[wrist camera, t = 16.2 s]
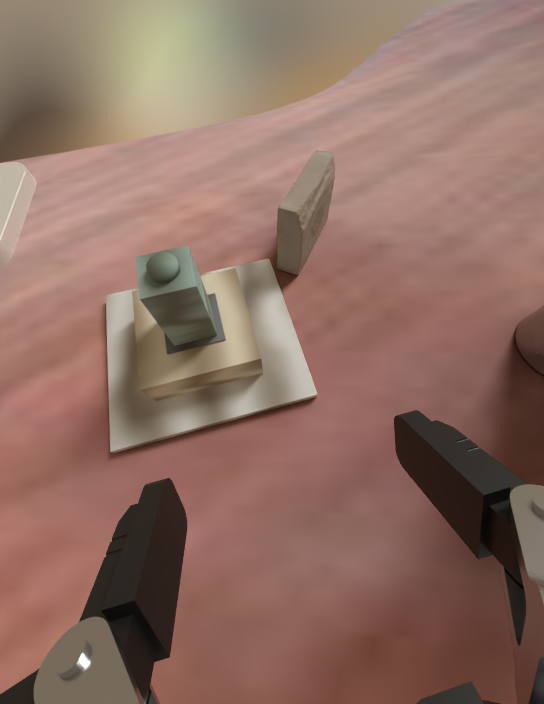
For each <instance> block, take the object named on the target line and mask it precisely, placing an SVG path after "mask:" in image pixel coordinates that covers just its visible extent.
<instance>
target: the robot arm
mask: <svg viewBox="0 0 544 704" xmlns="http://www.w3.org/2000/svg"><path fill="white" fill-rule="evenodd" d="M515 336H516V343H517V346H518V349H519V351H520V352H521V354H522V356H523V357H524V359H525V360H526V361H527V362H528V363H529V364H530V365H531V366H532V367H533V368H534V369H535V370H537V371H538V372H540V373H541V374H543V375H544V306H542V307H541V308H539V309H538V310H536V311H535V312H533V313H532V314H530V315H529V316H528V317H526V318H525V319H523V320H522V321H521V322H520V323H519V325H518V327H517V329H516V335H515ZM394 430H395V446H396V454H397V457H398V459H399V462H400V464H401V465H402V467H403V468H404V470H405V471H406V472H407V473H408V474H409V476H410V477H411V478H412V479H413V480H414V482H415V483H416V484H417V485H418V487H419V488H420V489H421V490H422V491H423V493H424V494H425V495H426V496H427V497H428V499H429V500H430V501H431V502H432V504H433V505H434V506H435V507H436V508H437V510H438V511H439V512H440V513H441V514H442V516H443V517H444V518H445V519H446V521H447V522H448V523H449V524H450V525H451V527H452V528H453V529H454V530H455V531H456V533H457V534H458V535H459V536H460V538H461V539H462V540H463V541H464V542H465V544H466V545H467V546H468V547H469V549H470V550H471V551H472V552H473V553H474V555H475V556H476V557H477V558H478V559H480V558H483V557H486V556H490V555H494V556H495V557H496V559H497V560H498V561H499V562H500V563H501V576H502V582H503V588H504V595H505V601H506V607H507V613H508V619H509V625H510V631H511V637H512V643H513V649H514V658H515V683H516V695H517V703H518V704H544V486H541V485H534V484H527V483H525V482H524V481H523V480H521V479H520V478H519V477H517V476H516V475H515V474H513V473H512V472H511V471H510V470H508V469H507V468H506V467H504V466H503V465H502V464H500V463H499V462H498V461H497V460H495V459H494V458H493V457H491V456H490V455H489V454H487V453H486V452H485V451H484V450H482V449H481V448H480V449H479V448H478V446H477V445H476V444H474V443H473V442H472V441H471V440H468V439H467V437H465V436H464V435H463V434H462V433H460V432H459V431H458V430H456V429H455V428H454V427H452V426H449V425H447V424H444V423H442V422H440V421H437V420H436V421H430V420H429V419H428V418H427V417H426V416H424V415H423V414H422V413H421V412H419V411H417V410H415V411H411V412H408V413H404V414H400V415H397V416H395V418H394ZM186 534H187V518H186V513H185V510H184V507H183V505H182V503H181V500H180V498H179V496H178V493H177V491H176V489H175V486H174V484H173V482H172V480H171V479H170V478H167V479H163V480H160V481H156V482H152V483H149V484H146V485H145V486H144V488H143V491H142V494H141V496H140V499H139V502H138V504H135V505H131V506H130V507H129V509H128V510H127V511H126V513H125V514H124V515H123V517H122V518H121V519H120V521H119V522H118V525H117V527H116V530H115V532H114V535H113V537H112V542H110V545H109V547H108V550H107V553H106V557H105V558H104V560H103V563H102V565H101V568H100V570H99V573H98V575H97V578H96V580H95V583H94V586H93V588H92V591H91V593H90V596H89V598H88V601H87V603H86V606H85V608H84V611H83V614H82V616H81V618H80V621H79V623H77V624H76V625H74V626H73V627H72V628H70V629H69V630H68V631H67V632H66V633H65V634H64V635H63V636H62V637H61V638H60V639H59V640H58V641H57V642H56V643H55V645H54V646H53V647H52V649H51V650H50V651H49V653H48V654H47V656H46V657H45V659H44V661H43V663H42V665H41V667H40V668H39V669H38V670H37V671H35V672H34V673H32V674H31V675H29V676H28V677H26V678H25V679H23V680H22V681H20V682H19V683H17V684H16V685H14V686H13V687H11V688H9V689H8V690H6V691H5V692H3V693H2V694H0V704H160V703H159V700H158V698H157V696H156V694H155V692H154V689H153V687H152V685H151V684H150V683H151V677H152V671H153V665H154V662H156V661H159V660H163V659H166V658H169V657H170V651H171V644H172V637H173V629H174V622H175V615H176V607H177V600H178V593H179V585H180V578H181V571H182V563H183V556H184V549H185V541H186ZM417 704H499V703H495V702H491V701H485V700H481V698H480V696H479V694H478V693H477V691H476V689H475V687H474V686H473V684H472V682H468V683H465V684H463V685H460V686H457V687H454V688H451V689H449V690H446V691H443V692H440V693H437V694H435V695H432V696H429V697H426V698H423V699H421V700H420V701H419V702H418V703H417Z"/></svg>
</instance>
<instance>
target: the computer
mask: <svg viewBox="0 0 544 704" xmlns="http://www.w3.org/2000/svg"><path fill="white" fill-rule="evenodd" d="M36 184H37V183H36V180H35V178H34V177H33V176H32V175H31V173H30V172H29V171H28V170H27V168H26V167H25V166H24V165H23V164H21V163H17V162H7V163H0V267H2V266H3V265H5V264H6V263H7V262H8V261H9V260H10V259H11V257H12V256H13V254H14V251H15V248H16V245H17V242H18V239H19V236H20V233H21V230H22V227H23V224H24V221H25V218H26V215H27V212H28V209H29V206H30V203H31V200H32V197H33V194H34V191H35V188H36Z"/></svg>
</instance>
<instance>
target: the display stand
mask: <svg viewBox="0 0 544 704" xmlns="http://www.w3.org/2000/svg"><path fill="white" fill-rule="evenodd" d="M200 277H201V280H202V282H203V285H204V288H205V290H206V293H207V296H208V298H209V301H210V305H211V310H212V314H213V319H214V323H215V328H216V332H217V335H216V336H212V337H208V338H204V339H200V340H196V341H192V342H188V343H184V344H180V345H176V346H174V344H173V343H172V342H171V340H170V339H169V338H168V336H167V335H166V334H165V332H164V331H163V330H162V328H161V327H160V326H159V324H158V323H157V322H156V320H155V319H154V318H153V316H152V315H151V314H150V312H149V311H148V310H147V308H146V307H145V306H144V304H143V303H142V302H141V300H140V297H139V288H136V289H132V290H127V291H123V292H118V293H114V294H110V295H106V321H107V355H108V389H109V423H110V452H114V453H117V452H120V451H124V450H127V449H131V448H135V447H138V446H142V445H145V444H149V443H153V442H156V441H160V440H163V439H167V438H171V437H174V436H178V435H181V434H185V433H189V432H192V431H196V430H199V429H203V428H207V427H210V426H214V425H217V424H221V423H225V422H228V421H232V420H235V419H239V418H243V417H246V416H250V415H253V414H257V413H261V412H264V411H268V410H271V409H275V408H279V407H282V406H286V405H289V404H293V403H297V402H300V401H304V400H307V399H311V398H315V397H317V395H318V394H317V391H316V389H315V386H314V383H313V380H312V377H311V374H310V372H309V369H308V366H307V363H306V360H305V358H304V355H303V352H302V349H301V346H300V343H299V341H298V338H297V335H296V332H295V329H294V327H293V324H292V321H291V318H290V315H289V313H288V310H287V307H286V304H285V301H284V298H283V296H282V293H281V290H280V287H279V284H278V282H277V279H276V276H275V273H274V270H273V267H272V265H271V262H270V259H269V258H268V259H264V260H259V261H255V262H251V263H246V264H242V265H237V266H233V267H229V268H224V269H220V270H215V271H211V272H207V273H202V274H200Z"/></svg>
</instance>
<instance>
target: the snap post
mask: <svg viewBox="0 0 544 704" xmlns="http://www.w3.org/2000/svg"><path fill="white" fill-rule="evenodd" d="M136 265H137V275H138V286H139V297H140V300H141V302H142V303H143V304H144V306H145V307H146V308H147V310H148V311H149V312H150V314H151V315H152V316H153V318H154V319H155V320H156V322H157V323H158V324H159V326H160V327H161V328H162V330H163V331H164V332H165V334H166V335H167V336H168V338H169V339H170V340H171V342H172V343H173V344H174V346H176V345H180V344H184V343H188V342H192V341H196V340H200V339H204V338H208V337H212V336H216V335H217V332H216V328H215V323H214V319H213V314H212V310H211V305H210V301H209V298H208V296H207V293H206V290H205V288H204V285H203V282H202V280H201V277H200V274H199V272H198V269H197V266H196V264H195V261H194V258H193V256H192V253H191V250H190V248H189V245H188V246H184V247H179V248H175V249H170V250H165V251H161V252H156V253H152V254H147V255H142V256H138V257H136Z"/></svg>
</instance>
